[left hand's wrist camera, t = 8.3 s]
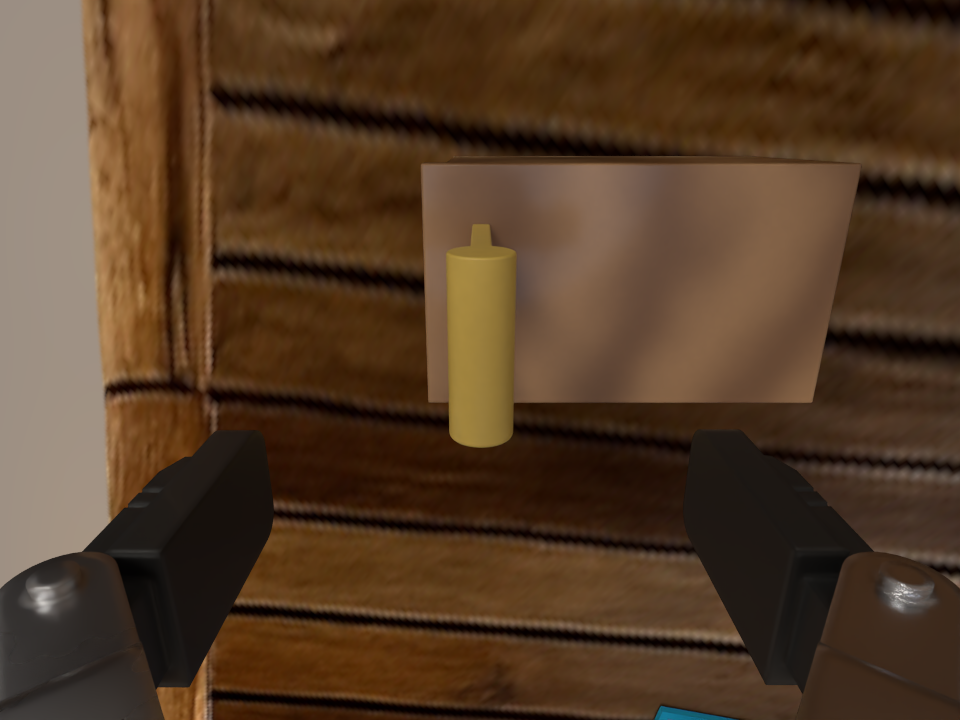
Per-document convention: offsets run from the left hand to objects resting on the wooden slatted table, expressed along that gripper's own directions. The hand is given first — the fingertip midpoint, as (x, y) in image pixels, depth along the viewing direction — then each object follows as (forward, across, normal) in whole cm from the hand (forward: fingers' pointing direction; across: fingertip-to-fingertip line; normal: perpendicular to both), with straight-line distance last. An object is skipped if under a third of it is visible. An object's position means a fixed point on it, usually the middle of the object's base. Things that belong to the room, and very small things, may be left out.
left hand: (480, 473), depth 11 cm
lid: (+15, +6, 0) cm, 16 cm away
